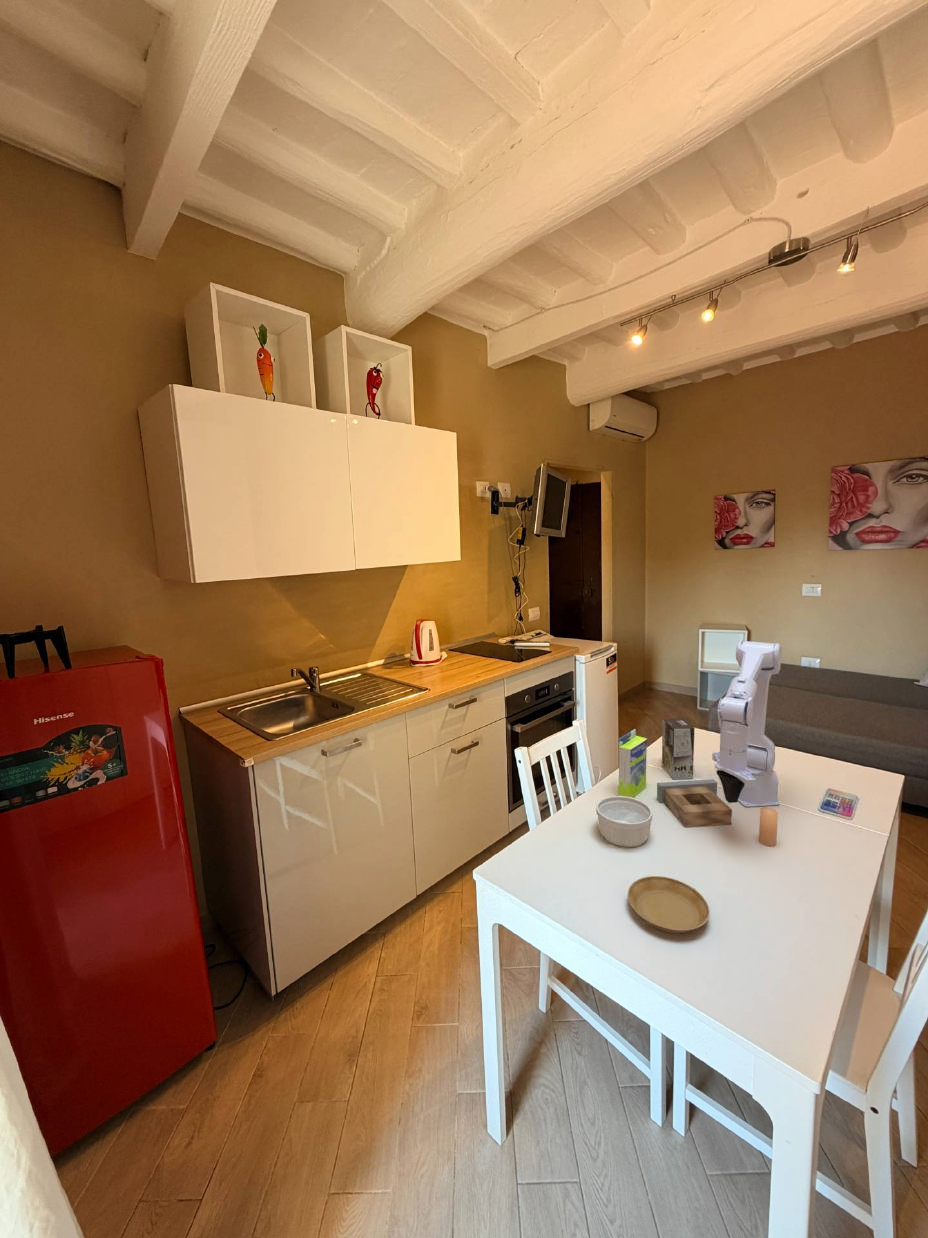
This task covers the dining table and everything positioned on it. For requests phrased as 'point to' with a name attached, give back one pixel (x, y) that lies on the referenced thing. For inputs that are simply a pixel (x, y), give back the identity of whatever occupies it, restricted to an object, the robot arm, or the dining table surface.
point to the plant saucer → (668, 904)
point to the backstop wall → (685, 786)
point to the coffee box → (678, 748)
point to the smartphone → (839, 804)
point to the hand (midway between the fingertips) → (731, 801)
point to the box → (632, 764)
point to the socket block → (697, 807)
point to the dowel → (768, 826)
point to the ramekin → (624, 820)
